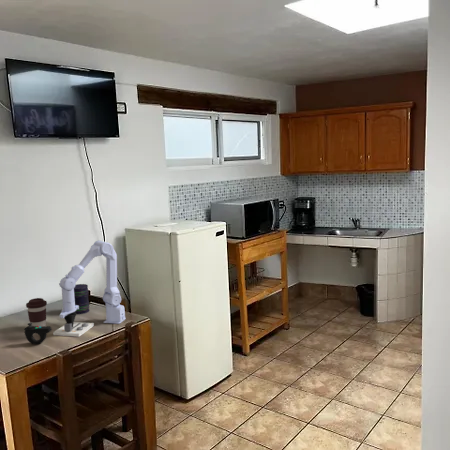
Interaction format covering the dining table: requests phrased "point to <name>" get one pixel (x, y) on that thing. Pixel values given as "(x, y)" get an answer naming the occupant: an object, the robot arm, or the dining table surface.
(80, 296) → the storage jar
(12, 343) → the dining table surface
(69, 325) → the fader tab
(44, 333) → the controller
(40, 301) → the coffee cup
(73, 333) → the console
